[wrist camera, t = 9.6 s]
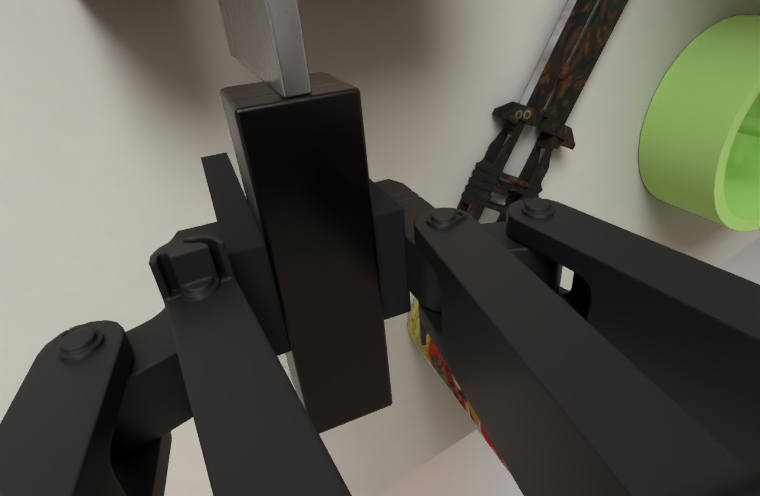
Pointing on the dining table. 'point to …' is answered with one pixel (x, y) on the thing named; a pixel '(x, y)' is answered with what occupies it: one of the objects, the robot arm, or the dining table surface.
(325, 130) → the cake knife
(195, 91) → the dining table surface
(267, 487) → the robot arm
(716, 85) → the green piece
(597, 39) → the knife
